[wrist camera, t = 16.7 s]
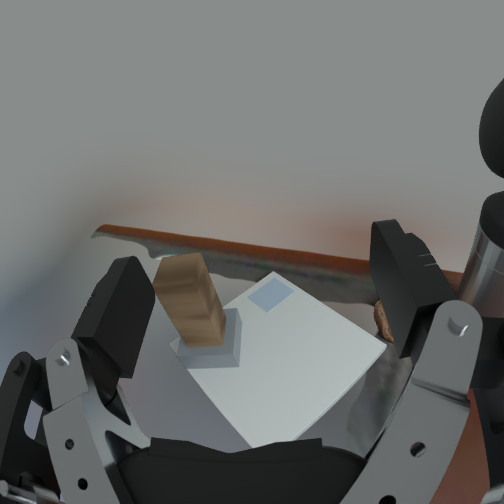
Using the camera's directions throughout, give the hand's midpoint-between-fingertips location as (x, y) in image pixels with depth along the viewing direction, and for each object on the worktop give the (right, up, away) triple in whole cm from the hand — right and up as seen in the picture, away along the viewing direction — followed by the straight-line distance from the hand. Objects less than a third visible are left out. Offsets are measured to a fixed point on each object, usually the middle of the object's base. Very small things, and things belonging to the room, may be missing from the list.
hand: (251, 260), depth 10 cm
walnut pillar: (-6, -11, +30) cm, 33 cm away
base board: (+3, -14, +31) cm, 34 cm away
